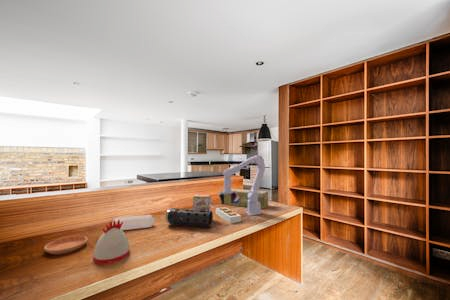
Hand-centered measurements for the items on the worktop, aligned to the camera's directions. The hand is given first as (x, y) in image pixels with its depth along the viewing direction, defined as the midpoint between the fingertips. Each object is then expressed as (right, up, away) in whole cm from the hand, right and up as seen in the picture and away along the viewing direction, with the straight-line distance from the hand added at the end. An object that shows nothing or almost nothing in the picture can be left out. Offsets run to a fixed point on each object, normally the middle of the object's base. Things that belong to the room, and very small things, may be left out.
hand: (227, 203), depth 147 cm
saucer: (-77, -7, -54) cm, 94 cm away
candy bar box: (-18, -8, -13) cm, 23 cm away
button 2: (+3, -6, -14) cm, 16 cm away
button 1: (-3, -6, -2) cm, 7 cm away
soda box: (+15, -9, +28) cm, 33 cm away
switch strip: (0, -7, -8) cm, 11 cm away
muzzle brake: (-24, -7, -25) cm, 36 cm away
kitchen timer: (-52, -6, -60) cm, 80 cm away
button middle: (0, -6, -8) cm, 10 cm away
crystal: (-58, -7, -28) cm, 64 cm away
